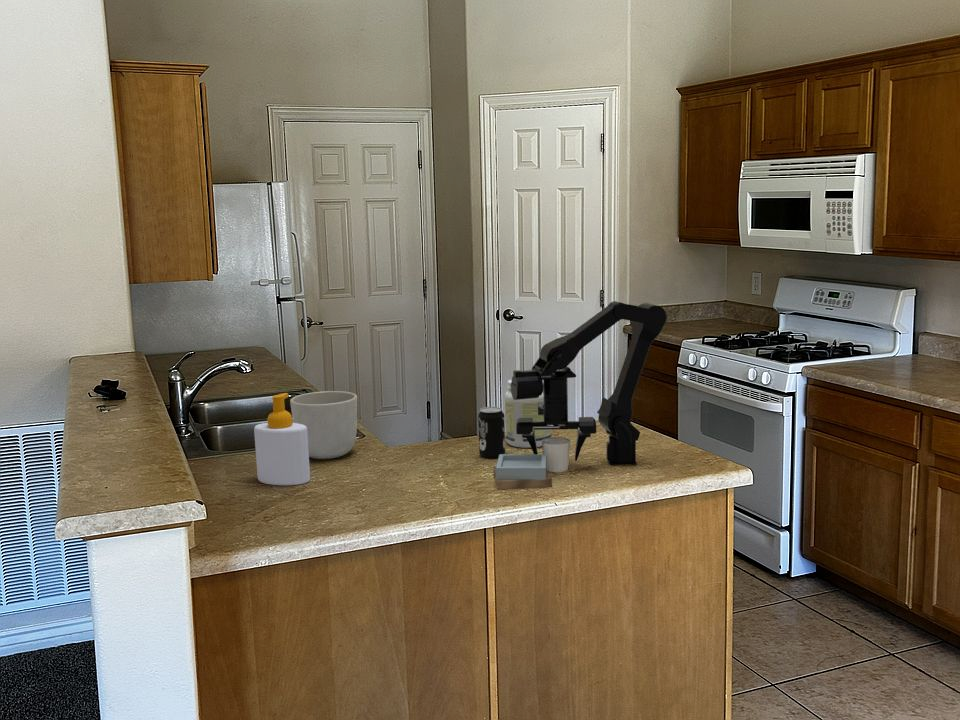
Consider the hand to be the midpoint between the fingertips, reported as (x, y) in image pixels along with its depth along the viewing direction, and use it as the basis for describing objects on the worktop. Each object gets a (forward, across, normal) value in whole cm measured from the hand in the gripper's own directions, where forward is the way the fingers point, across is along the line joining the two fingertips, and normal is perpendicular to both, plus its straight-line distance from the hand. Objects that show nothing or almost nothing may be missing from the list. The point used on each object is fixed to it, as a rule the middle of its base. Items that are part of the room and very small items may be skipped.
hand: (556, 460), depth 212 cm
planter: (+2, +59, -14) cm, 61 cm away
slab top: (0, +8, +9) cm, 12 cm away
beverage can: (+2, +16, -12) cm, 20 cm away
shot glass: (+2, 0, 0) cm, 2 cm away
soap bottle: (+2, +64, +8) cm, 65 cm away
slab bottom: (+3, +8, +9) cm, 12 cm away
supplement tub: (+2, +7, -24) cm, 25 cm away
